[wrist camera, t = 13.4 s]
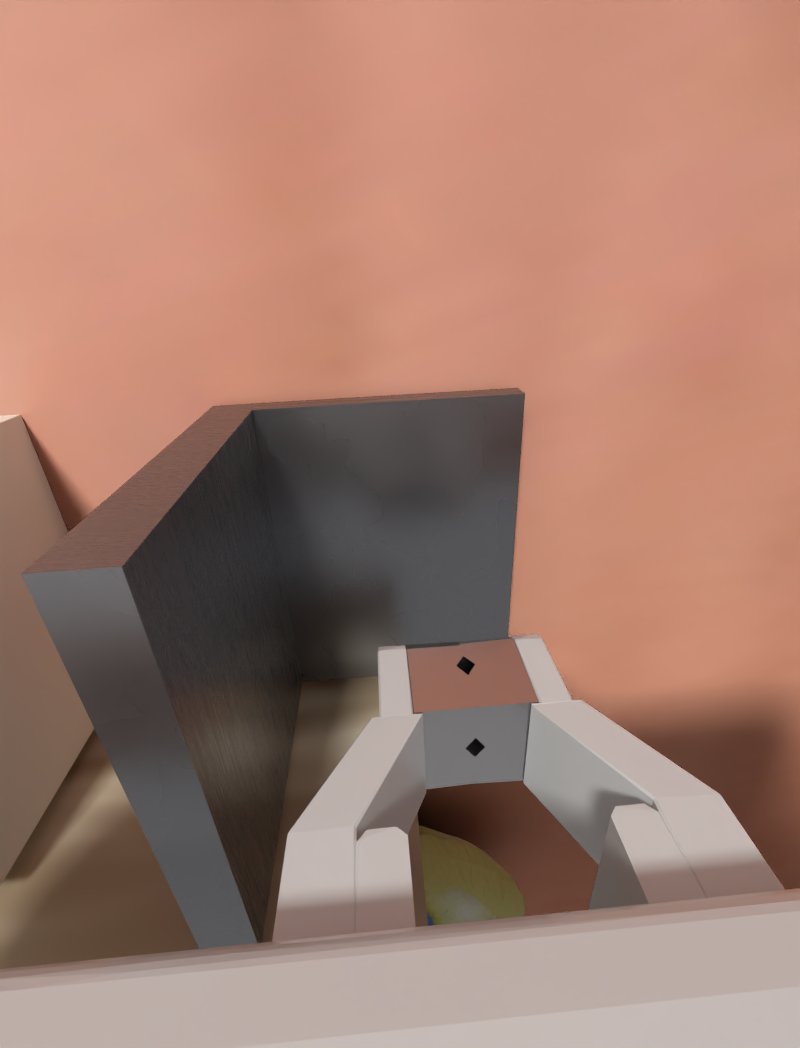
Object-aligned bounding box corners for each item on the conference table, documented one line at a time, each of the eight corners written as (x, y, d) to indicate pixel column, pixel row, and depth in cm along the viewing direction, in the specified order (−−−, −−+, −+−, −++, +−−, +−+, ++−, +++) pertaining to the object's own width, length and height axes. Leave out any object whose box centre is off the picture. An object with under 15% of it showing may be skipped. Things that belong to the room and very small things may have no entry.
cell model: (34, 887, 16) (480, 1051, 11) (199, 731, 22) (521, 783, 17) (123, 1097, 18) (512, 1309, 13) (246, 902, 25) (536, 992, 20)
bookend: (213, 406, 11) (20, 573, 5) (517, 388, 11) (700, 525, 5) (271, 670, 15) (203, 956, 9) (500, 652, 15) (595, 918, 9)
